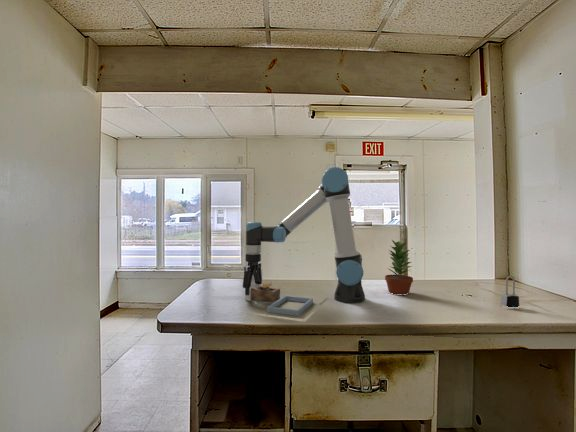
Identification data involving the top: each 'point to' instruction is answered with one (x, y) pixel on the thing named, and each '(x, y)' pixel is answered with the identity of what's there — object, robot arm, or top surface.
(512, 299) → the padlock
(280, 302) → the tray
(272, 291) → the brown wooden forked piece
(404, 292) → the potted plant
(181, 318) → the top surface
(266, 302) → the lid
